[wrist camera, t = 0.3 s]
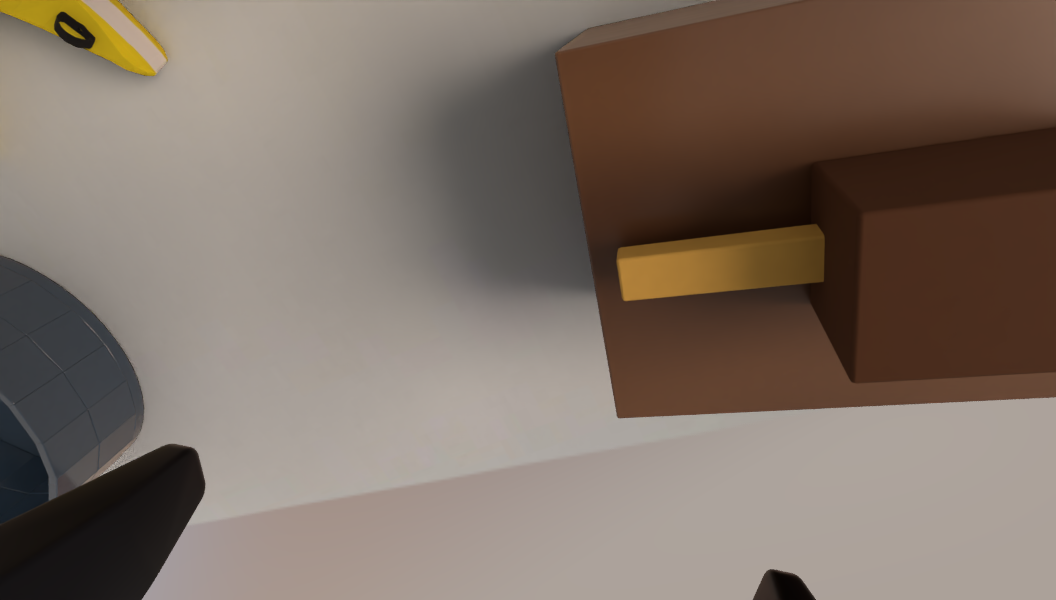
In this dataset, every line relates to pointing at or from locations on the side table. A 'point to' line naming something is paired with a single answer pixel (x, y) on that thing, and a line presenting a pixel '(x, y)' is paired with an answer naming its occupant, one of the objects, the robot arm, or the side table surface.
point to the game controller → (94, 30)
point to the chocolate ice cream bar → (902, 259)
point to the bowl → (57, 392)
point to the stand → (775, 171)
